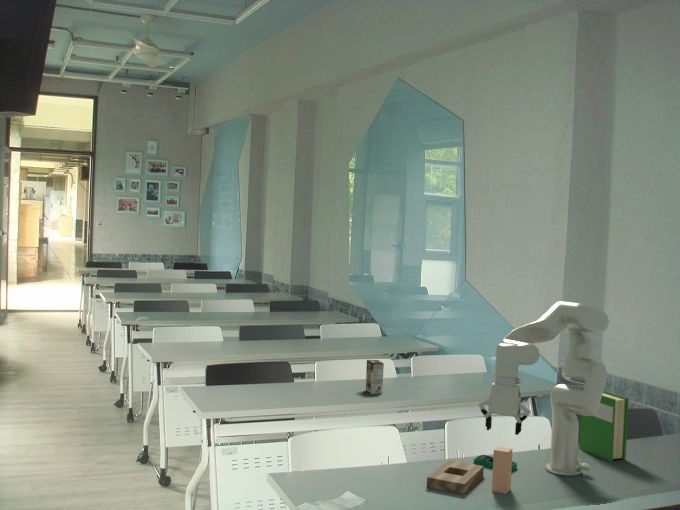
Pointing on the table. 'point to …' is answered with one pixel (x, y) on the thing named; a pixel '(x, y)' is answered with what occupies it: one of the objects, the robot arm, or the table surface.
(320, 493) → the table surface
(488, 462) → the digital multimeter
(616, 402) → the hardback book
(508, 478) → the square peg
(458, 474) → the wooden peg hole block
